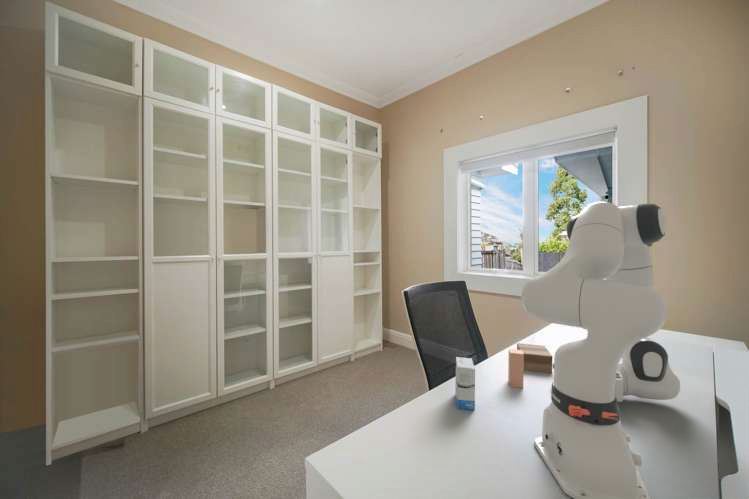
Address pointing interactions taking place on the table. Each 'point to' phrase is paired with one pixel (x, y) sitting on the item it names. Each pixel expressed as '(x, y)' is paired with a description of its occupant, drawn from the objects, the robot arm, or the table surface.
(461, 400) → the ink box
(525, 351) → the block
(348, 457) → the table surface
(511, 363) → the terracotta block
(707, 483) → the table surface
